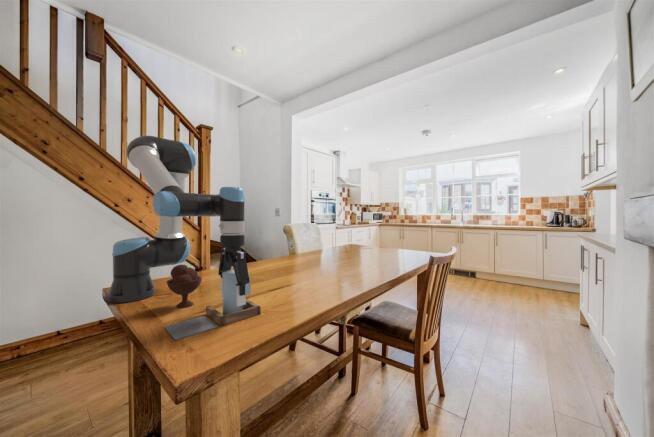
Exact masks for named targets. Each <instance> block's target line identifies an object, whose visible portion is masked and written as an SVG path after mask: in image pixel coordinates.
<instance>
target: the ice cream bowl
mask: <svg viewBox="0 0 654 437" xmlns="http://www.w3.org/2000/svg"><path fill="white" fill-rule="evenodd" d="M170 276H171V278H170V279H168V280H166V285H167V287H168V289H169V290H170V291H171V292H172V293H174V294H176V295H179V296H181V302H179V303H177V304H176V306H175V308H177V309H187V308H190V307H193V306H194V302H193V301H191V300H189V299H188V298H189V297H188V296H189V295H190V294H192V293H193V292H194V291H195V290H196V289H198V288H199V287H200V285H201V283H202V279H203V278H202V277H201V276H199V274H198V271H197V270H195V269H194V268H192V267H190V266H189V267H188V265H186V264H176V265H175V266H173V267H172V269H171V271H170Z"/></svg>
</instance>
